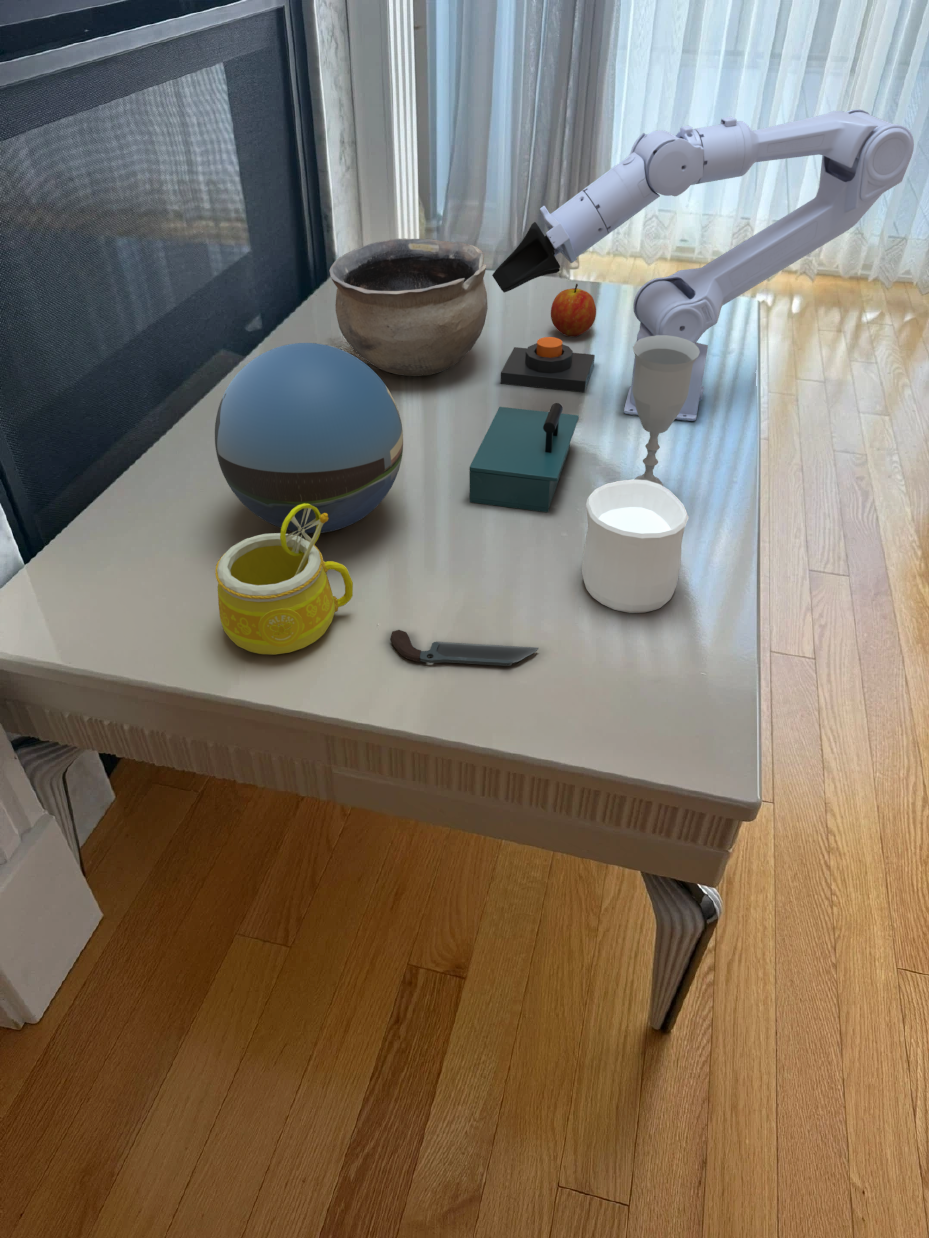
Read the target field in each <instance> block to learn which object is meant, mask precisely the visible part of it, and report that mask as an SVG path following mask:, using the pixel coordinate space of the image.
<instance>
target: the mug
mask: <svg viewBox="0 0 929 1238" xmlns="http://www.w3.org/2000/svg"><path fill="white" fill-rule="evenodd" d="M303 508H304V512H303V517H302V521H301V524H302V522H303V519H304V516H305V513H306V511H307V508H308V511H307V515H306V520H305V524H306V521H307V519H308V516H309V513H310V510H311V509H312V510H313V511H314V513H315V515H316V518H315V519H314V520H312V521H311V522H310V523H308V524H307V525H304V527H306V526H308V525H311V524H312V525H311V526H309V527H308V528H311V527H313V526H315V525H317V526H316V531H315V533H313V536H312V537H310V536H309V535H308V533H305V532H304V531H305V530H306V529H308V528H306V529H302V528H304V527H302V528H301V526H300V525H299V523H298V521H297V520H296V518H295V514H296V513H297V512H298V511H300V510H301V509H303ZM328 519H329V518H328V514H327V513H323V514H320V512H319V510H318V509H317V508H316V507H314V506H312V505H310V504H305V503H304V504H301V505H298V506H296V507H295V508H293V509H292V510H291V511H290V513H289V514H288V515H287V517H286V518H285V520H284V522H283V524H282V528H280V532H276V533H275V532H274V533H262V534H258V535H254V536H251V537H247V538H244V539H243V540H241V541H239V542H237V543H235V544H234V545H231V546H230V547H229V548H228V550H227V551H226V552H224V554H222V556H220V558H219V559H218V561H217V563H216V565H215V571H214V573H215V579H216V582H217V601H218V602H217V603H218V612H219V614H218V615H219V619H220V623H221V627H222V630H223V632H224V633H225V634H226V635H227V637H228V638H229V639H230V640H231V641H232V642H233V643H234V644H235V645H236V646H237V647H239V648H241V649H244V650H245V651H248V652H250V653H254V654H258V655H282V654H288V653H289V654H290V653H292V652H296V651H298V650H302V649H304V648H306V647H308V646H309V645H311V644H313V643H315V642H317V641H318V640H319V639H320V638H321V637H322V636H324V634H325V633H326V632H327V630H328V629H329V627H330V625H331V624H332V622H333V619H334V616H335V613H336V612H338V611H339V608H341V607H344V606H345V605H346V604H348V602H350V601H351V600H352V598H353V596H354V592H353V591H354V582H353V579H352V577H351V575H350V572H349V570H348V568H347V567H346V566H345V565H344V564H343V563H340V562H337V561H333V560H328V561H325V560H324V557H323V554H322V552H321V551H320V549H319V548H318V546H316V545H315V544H316V543H317V541H318V540H319V537H320V535H321V533H320V532H321V528H322V526H323V523H325V522H326V521H328ZM290 521H292V522H293V523H294V524H295V525H296V526H297V525H298V526H299V527H298V526H297V527H298V530H297V531H301V529H302V531H301V532H302V533H301V532H297V531H295V532H294V531H291V533H287V531H288V530H287V527H288V524H289V522H290ZM300 534H301V535H300ZM330 570H333V571H336V572H338V573H339V574H340V575H341V577H342V579H343V585H344V594H343V595H342V596H341V597H339V598H338V597H337V596H335V595H334V594H333V590H332V586H331V583H330V581H329V577H328V572H329V571H330Z"/></svg>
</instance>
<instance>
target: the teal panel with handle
mask: <svg viewBox="0 0 929 1238" xmlns="http://www.w3.org/2000/svg"><path fill="white" fill-rule="evenodd" d="M563 411H564V407H563V405H562V404H561V403H559V402H554V403H552V404H551V405H550V408H549V411H545V410H543V411H542V410H534V409H525V408H516V407H508V406H507V407H506V406H498V409H497V411H496V413H495V415H494V417H493V418H492V421H491V423H490V425H489V427H488V428H487V431H486V432H485V434H484V437H483V439H482V441H481V443H480V445H479V447H478V449H477V451H476V453H475V456H474V457H473V459H472V461H471V463H470V465H469V467H468V468H469V469H468V470H469V471H475V472H483V473H491V474H499V475H508V476H516V477H524V478H532V479H540V480H548V481H556V482H557V480H558V477H559V474H560V471H561V468H562V465H563V462H564V460H565V457H566V454H567V451H568V448H569V445H570V446H571V441H572V439H573V437H574V433H575V430H576V427H577V425H578V422H579V418H580V416H579V414H570V413H563Z"/></svg>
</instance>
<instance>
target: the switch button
mask: <svg viewBox="0 0 929 1238" xmlns="http://www.w3.org/2000/svg"><path fill="white" fill-rule="evenodd" d="M536 343H537V352H536V354H537V355H538V356H541V357H548V358H552V357H559V356H561V355H562V344H563V340H562V339H560V338H558V337H554V336H545V337H539V339H537V341H536Z"/></svg>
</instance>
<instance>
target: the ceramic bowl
mask: <svg viewBox="0 0 929 1238" xmlns="http://www.w3.org/2000/svg"><path fill="white" fill-rule="evenodd" d="M486 270H487V264H485V253H484V252H483V251H482V250H481V249H480V248H479V247H477V246H475V245H473V244H468V243H465V242H461V241H455V242H453V241H448V240H438V239H432V238H403V237H402V238H391V239H387V240H381V241H376V242H372V243H367V244H365V245H363V246H360V247H357V248H354V249H352V250H350V251H348V252H346V253H344V254H342V255H341V256H339V257H338V258H337V259H336V260H334V261H333V263H332V265H331V266H330V268H329V274H330V279H331V281H332V282H333V284H334V285H335V287H336V292H335V315H336V320H337V323H338V324H337V325H338V328H339V331H340V333H341V336H343V338H344V339H345V340H346V342H347V343H348V344H349V346H350V347H351V348H352V349H353V350H354V351H355V353H357V354H358V355H359V356H360V358H362V359H364V360H365V361H367V362H369V364H371V365H373V366H374V367H376V368H378V369H379V370H381V371H384V372H386V373H390V374H394V375H399V376H406V377H411V376H412V377H421V376H431V375H435V374H439V373H441V372H444V371H447V370H448V369H450V368H452V367H453V366H455V365H456V364H457V363H460V361H462V360H463V359H464V358H465V357H466V356H467V355H468V353H469V352H470V350H471V349H472V348H473V347H474V345H475V344H476V342H477V341H478V339H479V338H480V337H481V335H482V332H483V330H484V327H485V323H486V318H487V315H488V293H487V288H486V283H485V280H484V277H485V274H486Z"/></svg>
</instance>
